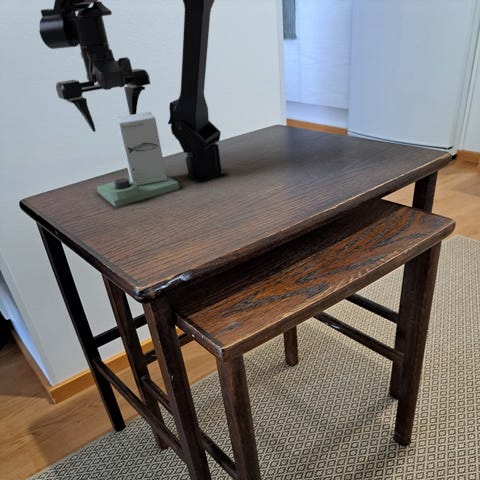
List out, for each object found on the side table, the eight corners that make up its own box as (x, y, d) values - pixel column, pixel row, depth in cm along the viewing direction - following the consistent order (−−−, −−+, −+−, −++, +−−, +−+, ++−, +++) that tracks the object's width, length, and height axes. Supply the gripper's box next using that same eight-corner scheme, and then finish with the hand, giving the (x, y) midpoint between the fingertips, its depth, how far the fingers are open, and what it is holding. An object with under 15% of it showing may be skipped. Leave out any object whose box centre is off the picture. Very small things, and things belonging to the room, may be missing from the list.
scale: (157, 176, 102) (154, 163, 101) (181, 189, 93) (178, 175, 91) (98, 192, 97) (94, 179, 95) (117, 208, 88) (113, 194, 86)
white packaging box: (133, 187, 93) (117, 123, 85) (129, 178, 99) (114, 116, 91) (168, 180, 94) (155, 116, 87) (162, 171, 100) (149, 110, 93)
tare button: (127, 184, 91) (125, 177, 90) (132, 188, 89) (130, 180, 88) (114, 188, 90) (112, 180, 89) (119, 191, 88) (117, 184, 87)
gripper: (56, 52, 81) (82, 142, 90) (152, 38, 88) (167, 123, 97) (44, 51, 89) (69, 134, 98) (132, 38, 96) (148, 116, 105)
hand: (114, 127), depth 99 cm, fingers open, 9 cm apart
